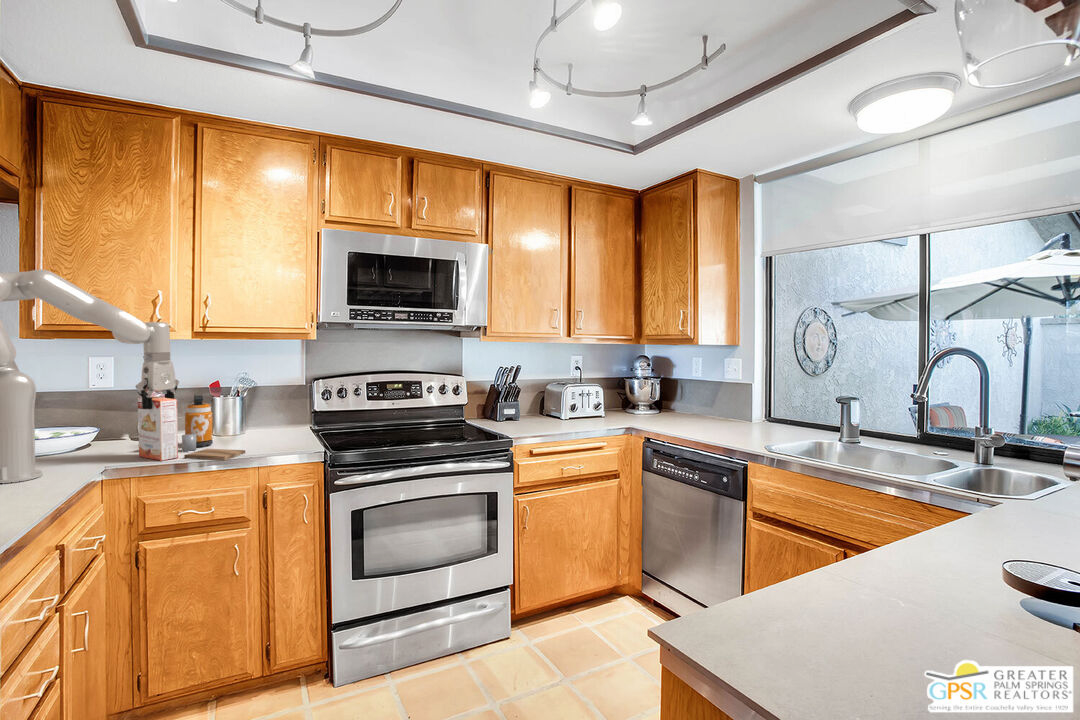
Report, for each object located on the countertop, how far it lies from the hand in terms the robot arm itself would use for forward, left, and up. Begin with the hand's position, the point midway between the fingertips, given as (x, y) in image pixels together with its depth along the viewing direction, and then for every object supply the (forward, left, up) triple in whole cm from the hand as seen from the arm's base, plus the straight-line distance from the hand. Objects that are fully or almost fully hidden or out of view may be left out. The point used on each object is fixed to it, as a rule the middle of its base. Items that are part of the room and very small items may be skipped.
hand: (158, 407), depth 188 cm
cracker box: (0, 0, -18) cm, 18 cm away
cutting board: (+6, -17, -18) cm, 25 cm away
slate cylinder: (+12, -2, -18) cm, 21 cm away
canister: (+22, +2, -18) cm, 28 cm away
